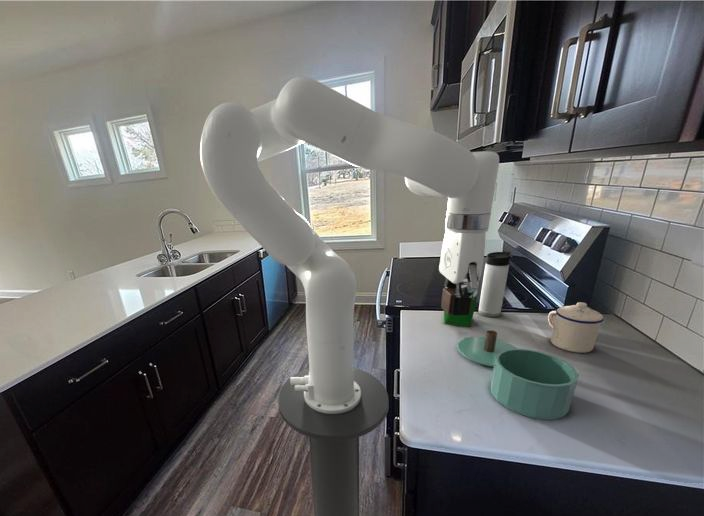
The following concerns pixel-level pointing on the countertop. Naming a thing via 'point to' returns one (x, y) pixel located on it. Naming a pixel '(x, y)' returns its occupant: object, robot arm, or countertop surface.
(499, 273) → the travel mug
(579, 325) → the teacup with lid
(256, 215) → the robot arm
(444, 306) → the block
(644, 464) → the countertop surface
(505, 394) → the bowl
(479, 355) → the lid
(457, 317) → the milk carton
